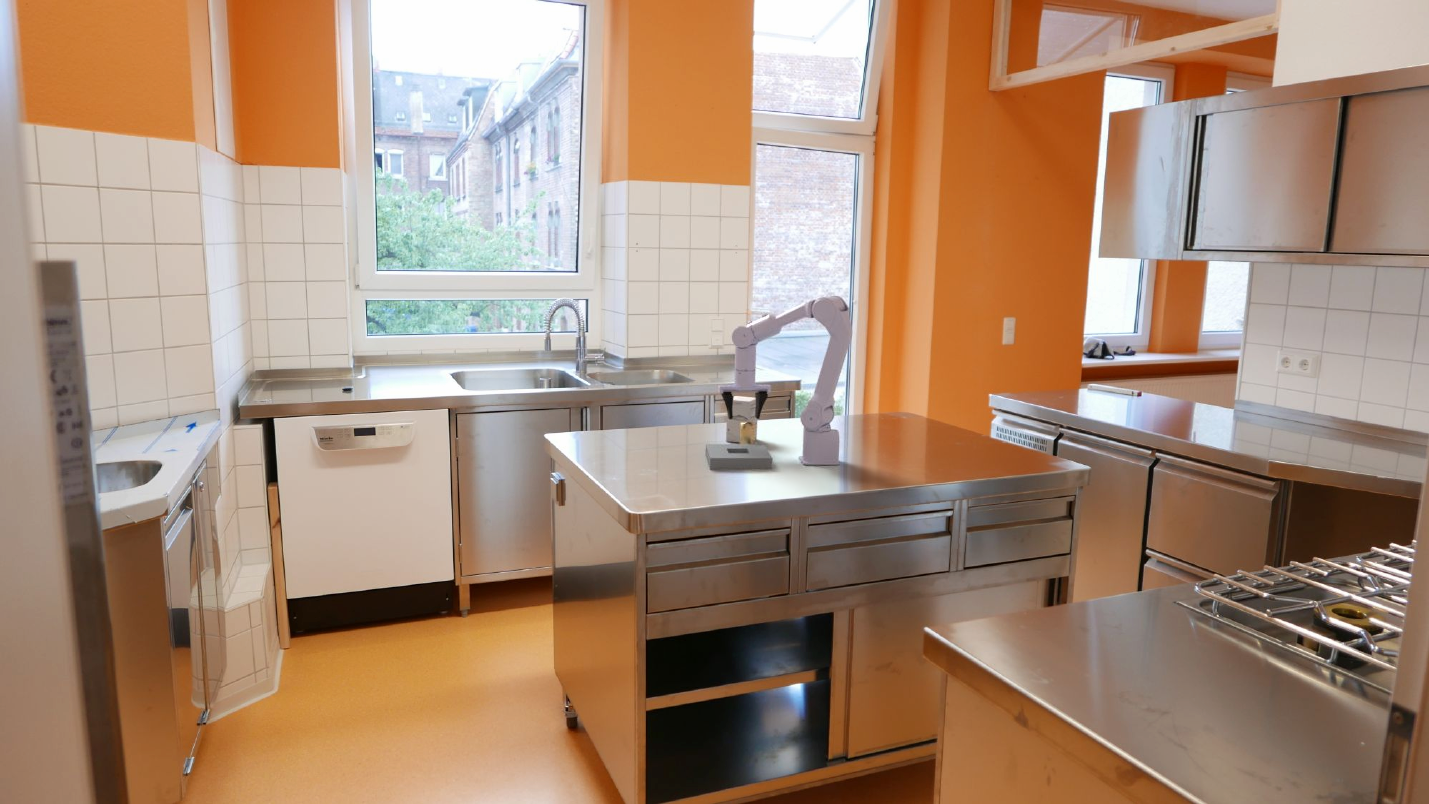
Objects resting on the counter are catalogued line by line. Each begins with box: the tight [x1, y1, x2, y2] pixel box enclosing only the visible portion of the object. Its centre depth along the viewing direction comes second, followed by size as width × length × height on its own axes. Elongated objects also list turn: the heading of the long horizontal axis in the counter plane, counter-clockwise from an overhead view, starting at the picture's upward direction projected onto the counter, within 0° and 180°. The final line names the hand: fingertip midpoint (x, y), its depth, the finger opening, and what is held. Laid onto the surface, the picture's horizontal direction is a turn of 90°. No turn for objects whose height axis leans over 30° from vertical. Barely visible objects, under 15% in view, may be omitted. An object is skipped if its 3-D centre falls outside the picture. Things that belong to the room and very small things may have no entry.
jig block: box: [704, 443, 773, 471], centre depth 240 cm, size 16×16×3 cm
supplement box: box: [725, 395, 758, 443], centre depth 265 cm, size 7×7×13 cm
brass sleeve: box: [739, 421, 755, 444], centre depth 253 cm, size 4×4×8 cm
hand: (743, 418), depth 250 cm, fingers open, 7 cm apart
